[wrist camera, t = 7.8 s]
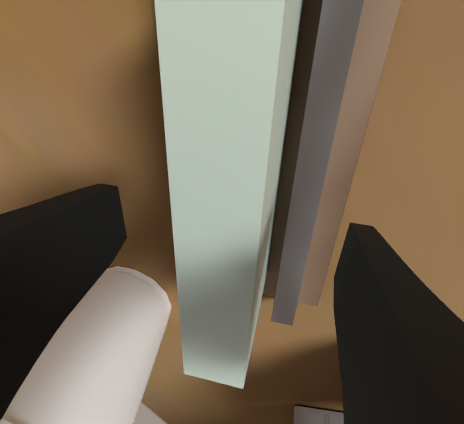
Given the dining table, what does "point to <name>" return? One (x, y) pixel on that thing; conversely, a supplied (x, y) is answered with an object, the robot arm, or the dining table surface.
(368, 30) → the bottom track
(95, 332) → the foam cup
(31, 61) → the dining table surface
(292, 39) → the door panel
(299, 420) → the coffee box
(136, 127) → the dining table surface
